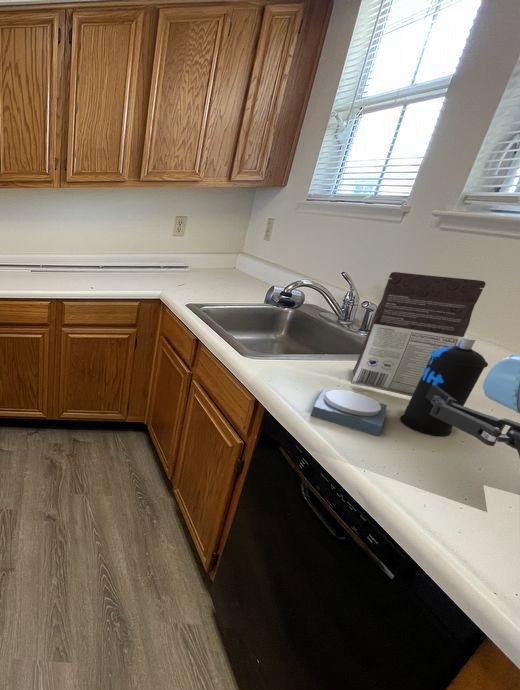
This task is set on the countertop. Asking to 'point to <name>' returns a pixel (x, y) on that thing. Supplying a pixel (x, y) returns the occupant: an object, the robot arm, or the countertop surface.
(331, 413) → the kitchen scale
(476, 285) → the protein powder
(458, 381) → the aerosol can
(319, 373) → the countertop surface
